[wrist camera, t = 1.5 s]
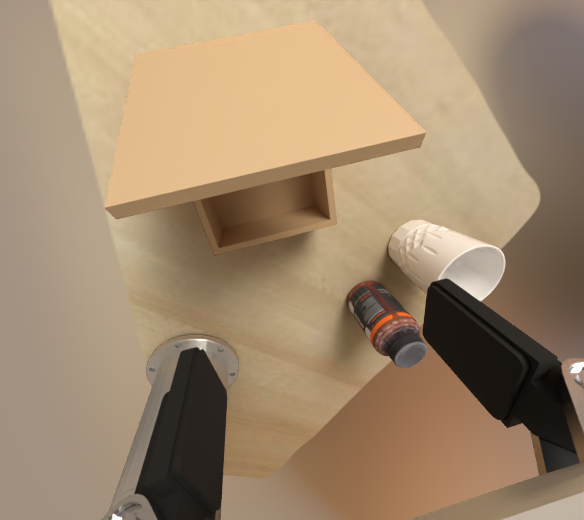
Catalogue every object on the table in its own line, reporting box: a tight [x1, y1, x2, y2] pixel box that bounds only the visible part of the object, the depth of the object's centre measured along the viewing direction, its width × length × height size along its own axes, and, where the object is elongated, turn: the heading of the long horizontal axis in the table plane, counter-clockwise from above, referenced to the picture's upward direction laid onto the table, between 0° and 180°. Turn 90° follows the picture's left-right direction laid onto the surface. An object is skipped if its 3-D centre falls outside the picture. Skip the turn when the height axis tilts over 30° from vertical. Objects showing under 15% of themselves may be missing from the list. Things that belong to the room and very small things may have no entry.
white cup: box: [388, 220, 505, 301], centre depth 29 cm, size 8×8×10 cm
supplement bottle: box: [347, 281, 428, 368], centre depth 31 cm, size 6×6×11 cm
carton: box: [193, 169, 337, 256], centre depth 22 cm, size 14×12×6 cm
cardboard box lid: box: [104, 21, 426, 219], centre depth 12 cm, size 14×12×1 cm
